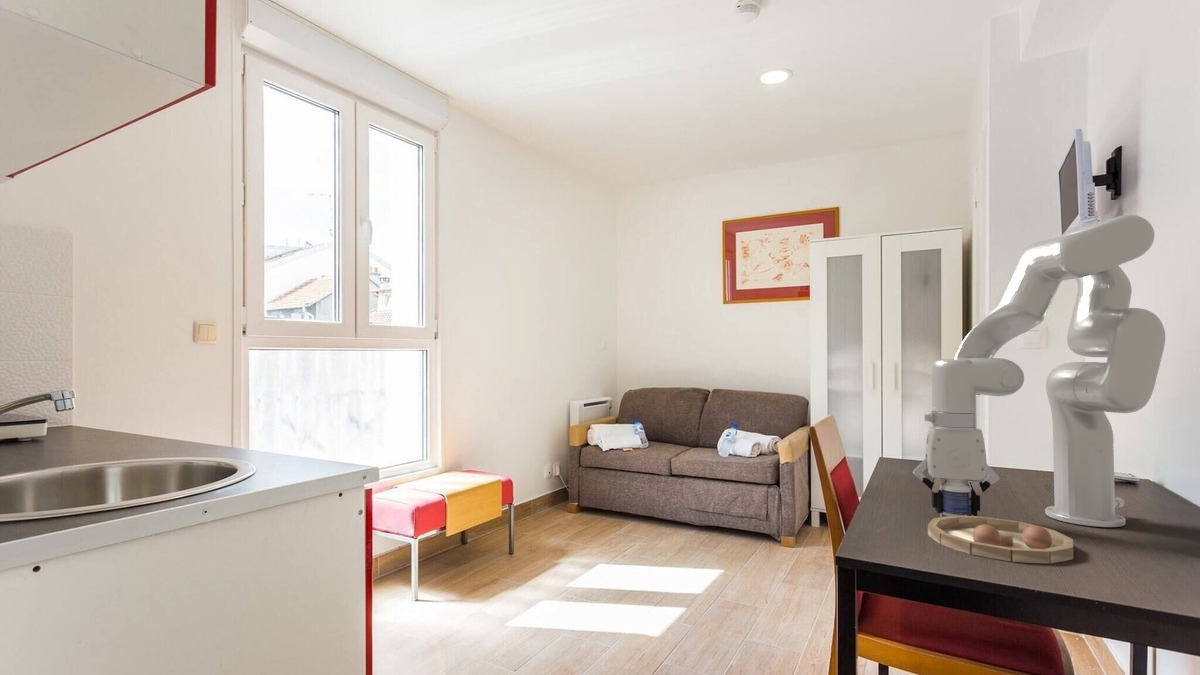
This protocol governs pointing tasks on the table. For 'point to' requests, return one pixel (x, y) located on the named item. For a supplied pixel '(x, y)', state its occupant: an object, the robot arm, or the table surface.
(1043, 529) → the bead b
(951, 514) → the pill bottle
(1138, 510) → the table surface
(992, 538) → the brown egg
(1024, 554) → the groove tray
